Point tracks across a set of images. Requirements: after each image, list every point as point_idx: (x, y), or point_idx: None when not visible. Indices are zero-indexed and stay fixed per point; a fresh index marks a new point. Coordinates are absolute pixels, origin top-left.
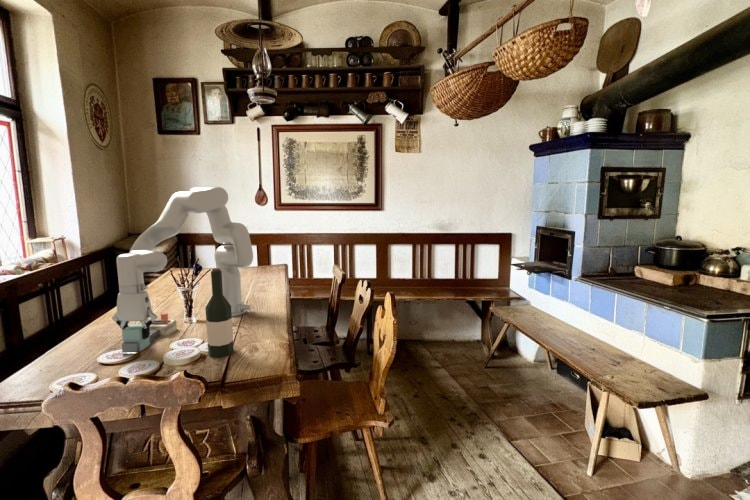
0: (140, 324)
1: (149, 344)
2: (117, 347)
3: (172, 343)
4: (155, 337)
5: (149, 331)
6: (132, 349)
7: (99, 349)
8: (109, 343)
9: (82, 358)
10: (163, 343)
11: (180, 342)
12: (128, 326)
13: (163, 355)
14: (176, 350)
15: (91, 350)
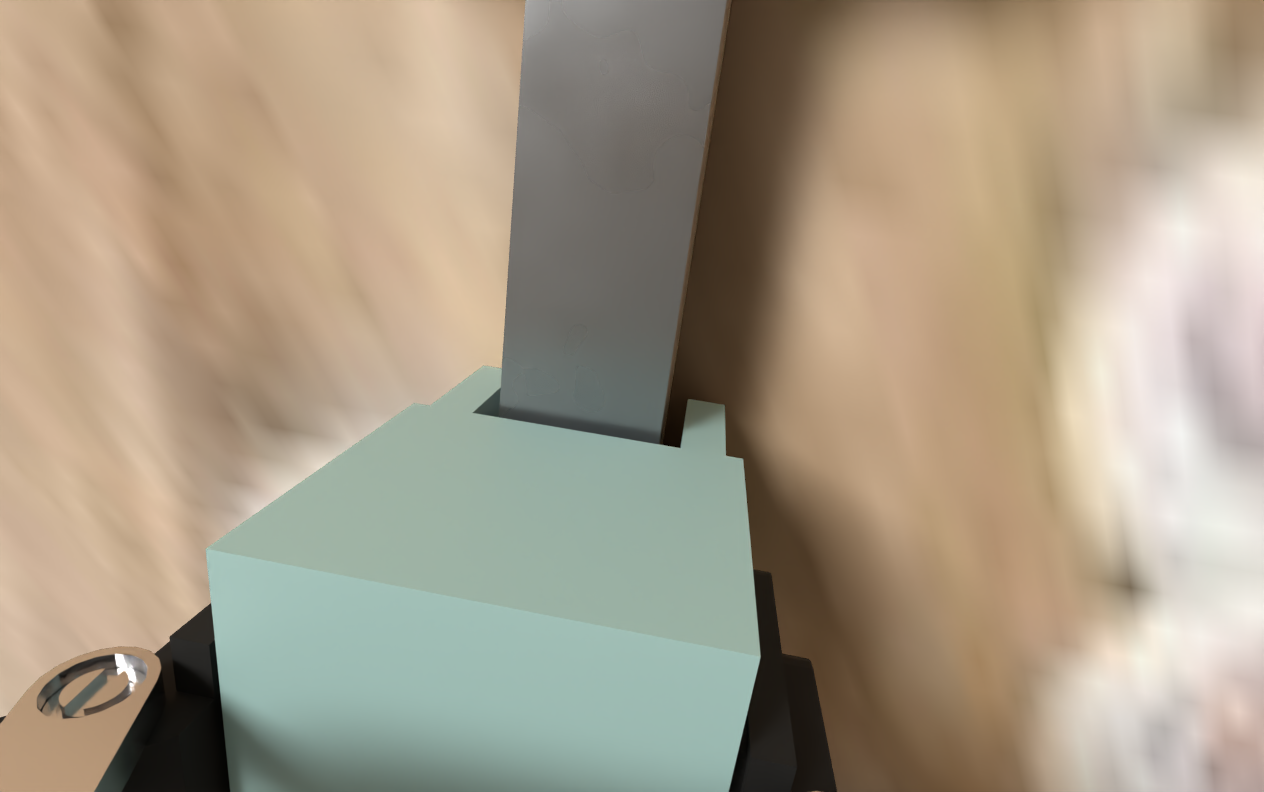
0: (487, 622)
1: (723, 411)
2: (263, 362)
3: (1090, 332)
4: (719, 67)
5: (818, 714)
6: None
7: (76, 396)
8: (37, 166)
9: (96, 635)
10: (922, 305)
11: (1243, 304)
12: (229, 717)
13: (1026, 763)
14: (1196, 643)
15: (4, 413)
